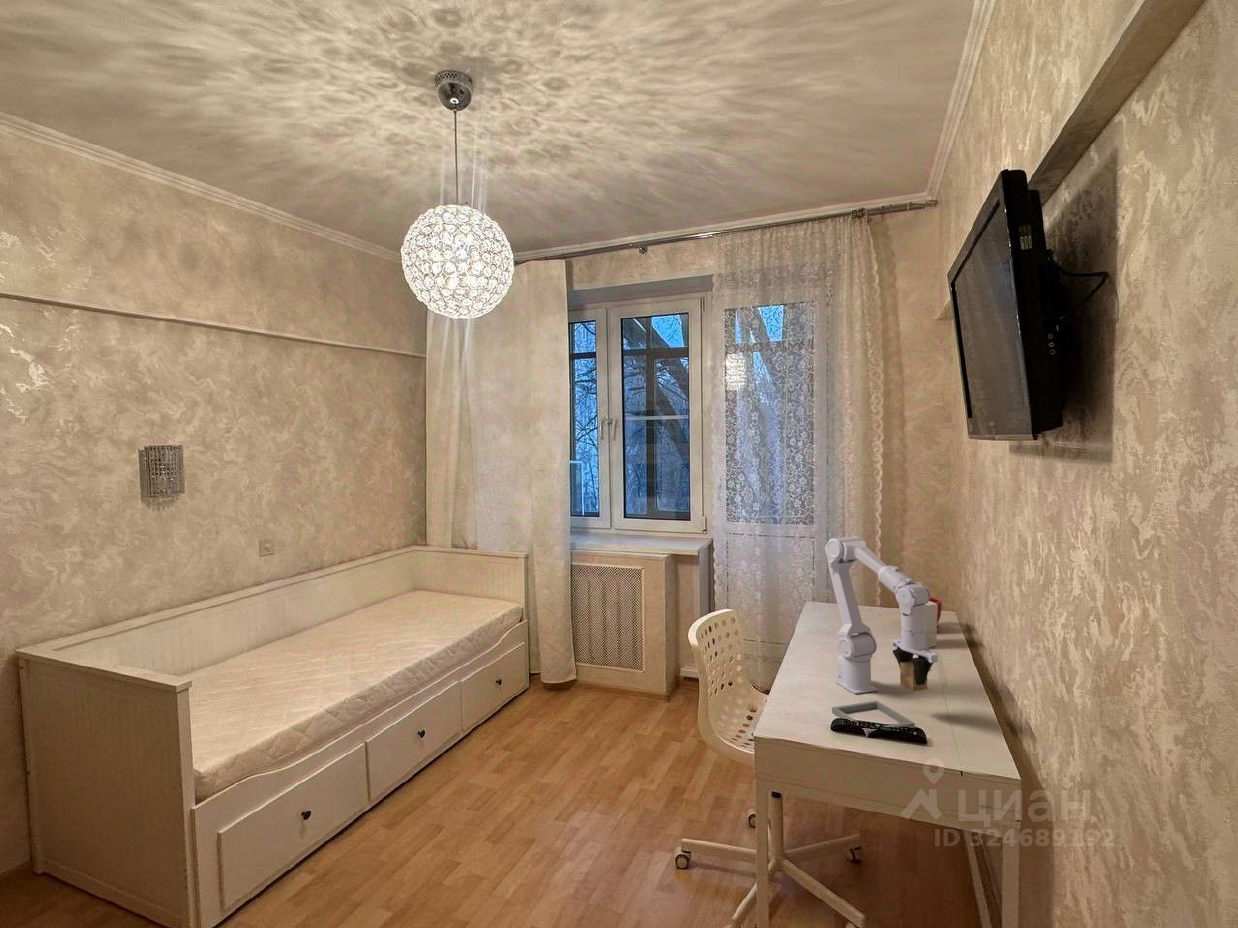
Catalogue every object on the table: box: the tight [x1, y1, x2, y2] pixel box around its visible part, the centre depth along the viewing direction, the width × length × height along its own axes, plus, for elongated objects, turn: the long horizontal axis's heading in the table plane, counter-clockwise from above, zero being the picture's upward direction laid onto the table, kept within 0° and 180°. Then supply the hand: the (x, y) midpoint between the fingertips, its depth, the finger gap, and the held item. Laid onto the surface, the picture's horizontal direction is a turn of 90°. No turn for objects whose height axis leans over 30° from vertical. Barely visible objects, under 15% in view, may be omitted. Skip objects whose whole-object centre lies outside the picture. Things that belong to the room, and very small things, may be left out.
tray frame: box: [831, 700, 916, 738], centre depth 155 cm, size 14×14×2 cm
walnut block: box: [899, 661, 928, 692], centre depth 158 cm, size 4×4×6 cm
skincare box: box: [924, 601, 938, 649], centre depth 212 cm, size 8×7×16 cm
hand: (913, 680), depth 158 cm, fingers closed on walnut block, 4 cm apart
